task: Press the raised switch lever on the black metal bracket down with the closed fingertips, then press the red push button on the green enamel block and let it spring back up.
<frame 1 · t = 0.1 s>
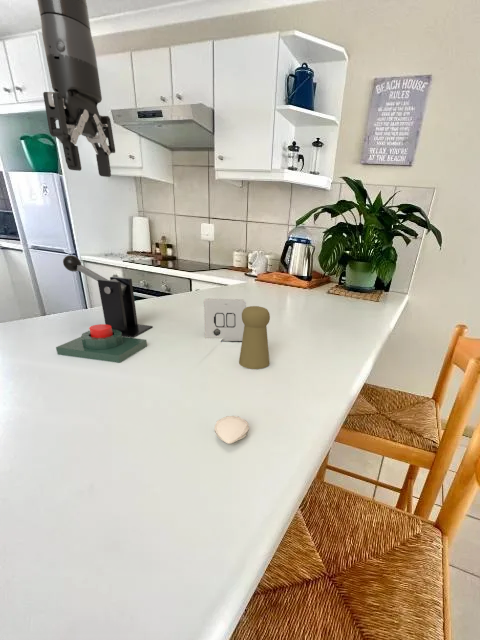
hand: (91, 173, 62), 31 cm above the countertop, tool pointing down, fingers open, 8 cm apart
switch lever: (94, 275, 68), point 12 cm above the countertop, hinge at 24.0°
push button: (101, 331, 60), point 4 cm above the countertop, slide at 0.1 cm
switch bracket: (123, 333, 73), on the countertop
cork: (254, 363, 64), on the countertop
button block: (105, 354, 62), on the countertop
electrical switch: (224, 338, 75), on the countertop
seashell: (231, 440, 41), on the countertop
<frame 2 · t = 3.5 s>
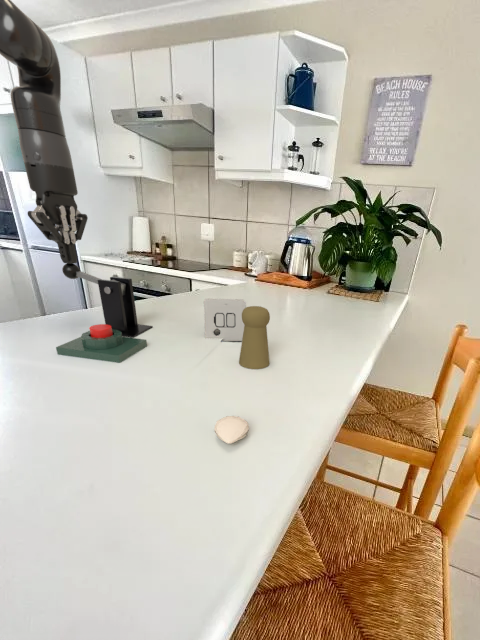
hand: (70, 263, 67), 14 cm above the countertop, tool pointing down, fingers closed
switch lever: (93, 279, 68), point 11 cm above the countertop, hinge at 14.4°, touching gripper
everything else where it was.
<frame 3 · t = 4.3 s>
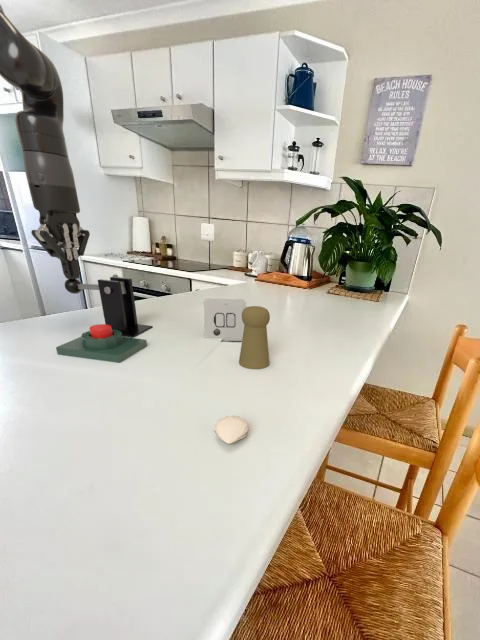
hand: (72, 278, 69), 11 cm above the countertop, tool pointing down, fingers closed
switch lever: (94, 287, 69), point 10 cm above the countertop, hinge at -3.6°, touching gripper
everything else where it was.
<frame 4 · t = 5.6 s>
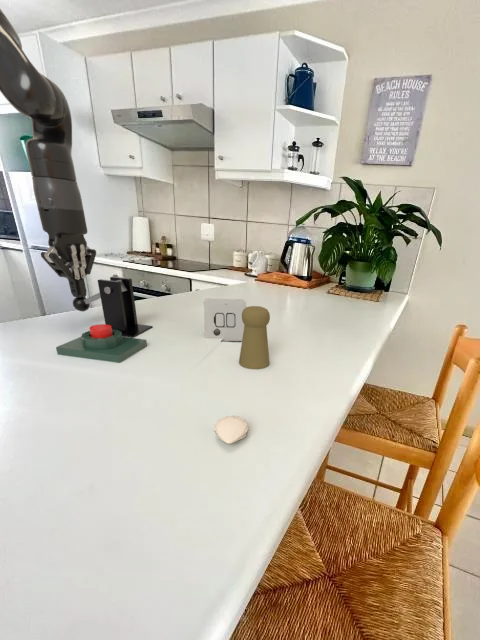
hand: (79, 296, 70), 7 cm above the countertop, tool pointing down, fingers closed
switch lever: (98, 296, 70), point 8 cm above the countertop, hinge at -25.9°, touching gripper
everything else where it was.
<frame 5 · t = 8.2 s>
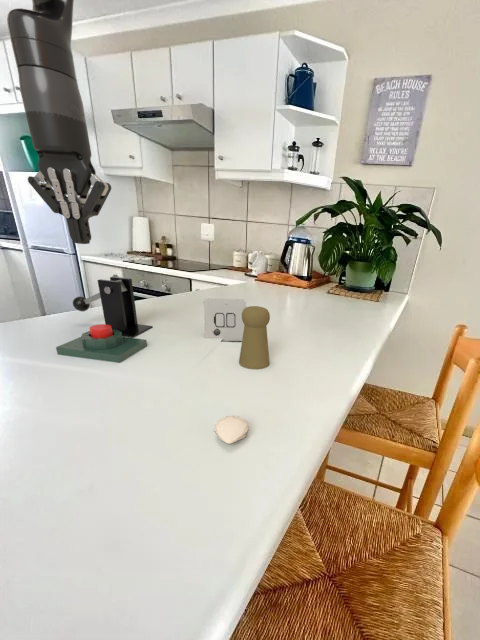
hand: (82, 243, 55), 19 cm above the countertop, tool pointing down, fingers closed
switch lever: (98, 296, 70), point 8 cm above the countertop, hinge at -25.9°
everything else where it was.
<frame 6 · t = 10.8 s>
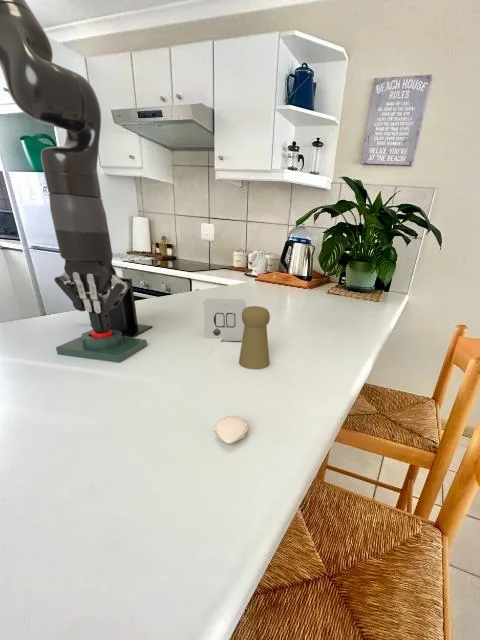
hand: (101, 331, 60), 4 cm above the countertop, tool pointing down, fingers closed
push button: (102, 336, 60), point 4 cm above the countertop, slide at -0.8 cm, touching gripper
everything else where it was.
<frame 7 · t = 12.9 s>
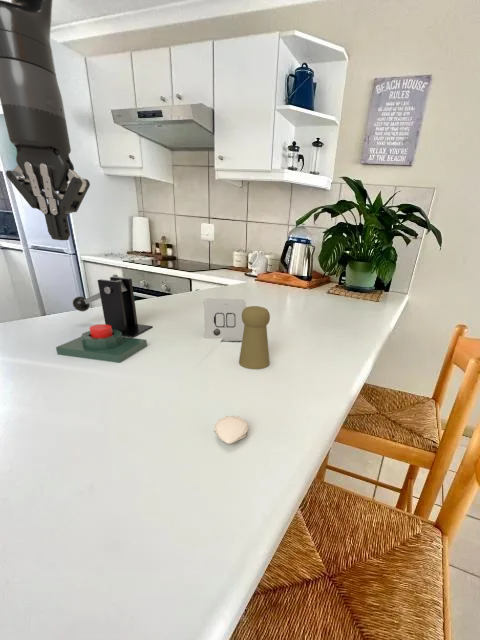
hand: (60, 239, 55), 20 cm above the countertop, tool pointing down, fingers closed
push button: (101, 331, 60), point 4 cm above the countertop, slide at 0.1 cm
everything else where it was.
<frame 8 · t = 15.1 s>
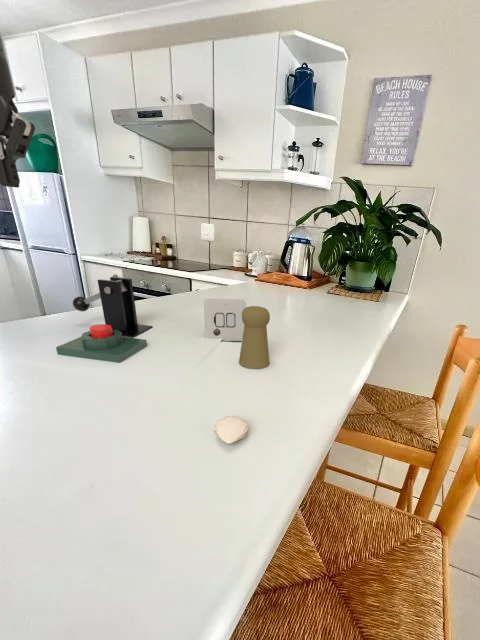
hand: (10, 186, 55), 27 cm above the countertop, tool pointing down, fingers closed
nothing on the countertop moved.
at the end: switch lever at -26° (first picture: +24°); push button pushed in 1.1 cm at the most during the clip, back to where it started at the end; push button slide at 0.1 cm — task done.
